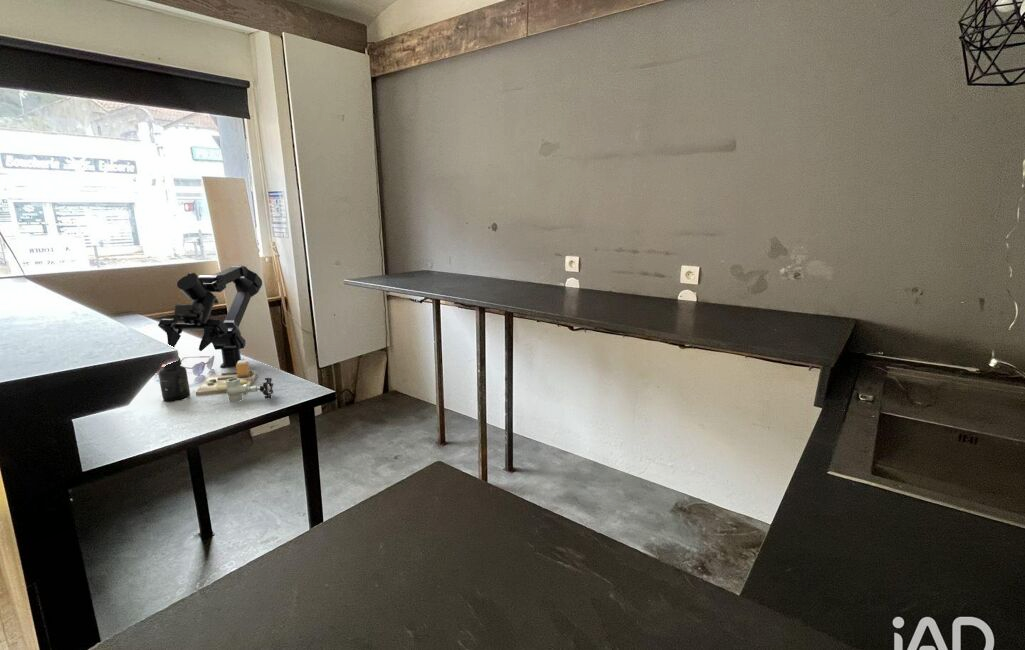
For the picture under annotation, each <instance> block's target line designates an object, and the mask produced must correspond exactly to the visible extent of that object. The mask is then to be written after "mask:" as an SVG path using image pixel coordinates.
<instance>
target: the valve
mask: <svg viewBox="0 0 1025 650" xmlns="http://www.w3.org/2000/svg"><path fill="white" fill-rule="evenodd" d="M264 381H265V382H263V383H262V384H260V386H258V385H251V386H249V385H248V384H244V385H243V386H241V385H240V379H239V378H237V377H235V378H229V379H227V380H226V385H227V388H226V393H225V394H226V395H227V397H228V402H229V403H238V402H240V400H241V401H242V399H243V395H249V393H251V392H252V393H257V392H258V391H260V393H262V395H264V399H268V398H269V399H272V398H271V396H272V397H273V395H272V394H274V389H273V387H274V382H272V381H273V378H272V377H265V378H264Z"/></svg>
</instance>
